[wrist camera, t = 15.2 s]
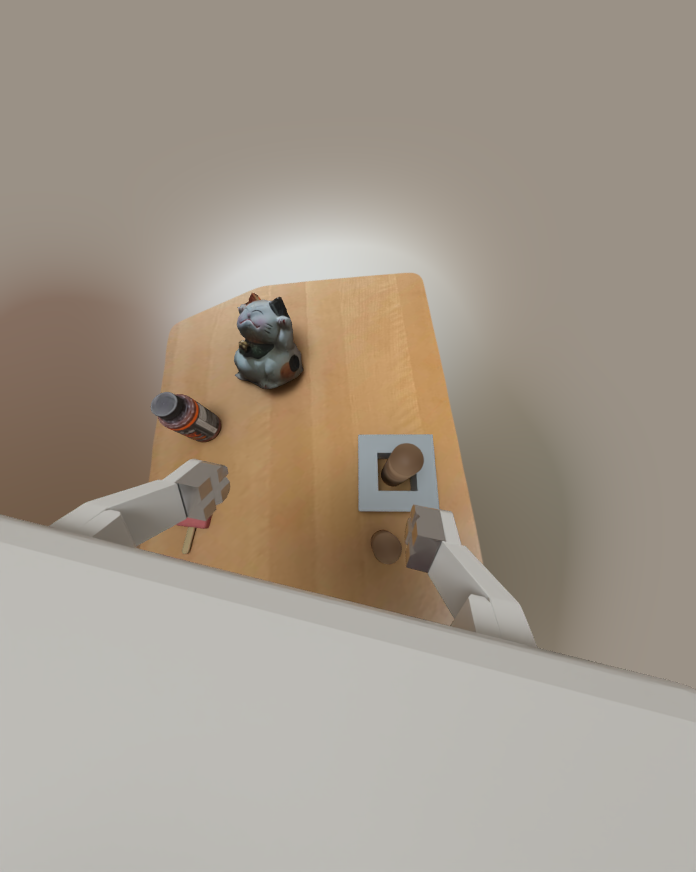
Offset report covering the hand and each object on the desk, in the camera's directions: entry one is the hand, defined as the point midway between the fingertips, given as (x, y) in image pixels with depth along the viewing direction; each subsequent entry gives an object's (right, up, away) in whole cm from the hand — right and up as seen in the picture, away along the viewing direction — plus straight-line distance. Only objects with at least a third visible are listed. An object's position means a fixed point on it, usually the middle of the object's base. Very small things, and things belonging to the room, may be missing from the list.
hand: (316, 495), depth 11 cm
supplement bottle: (-26, +4, +37) cm, 46 cm away
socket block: (+9, -4, +33) cm, 35 cm away
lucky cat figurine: (-14, +18, +41) cm, 47 cm away
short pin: (+7, -15, +30) cm, 34 cm away
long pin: (+9, -4, +33) cm, 35 cm away
